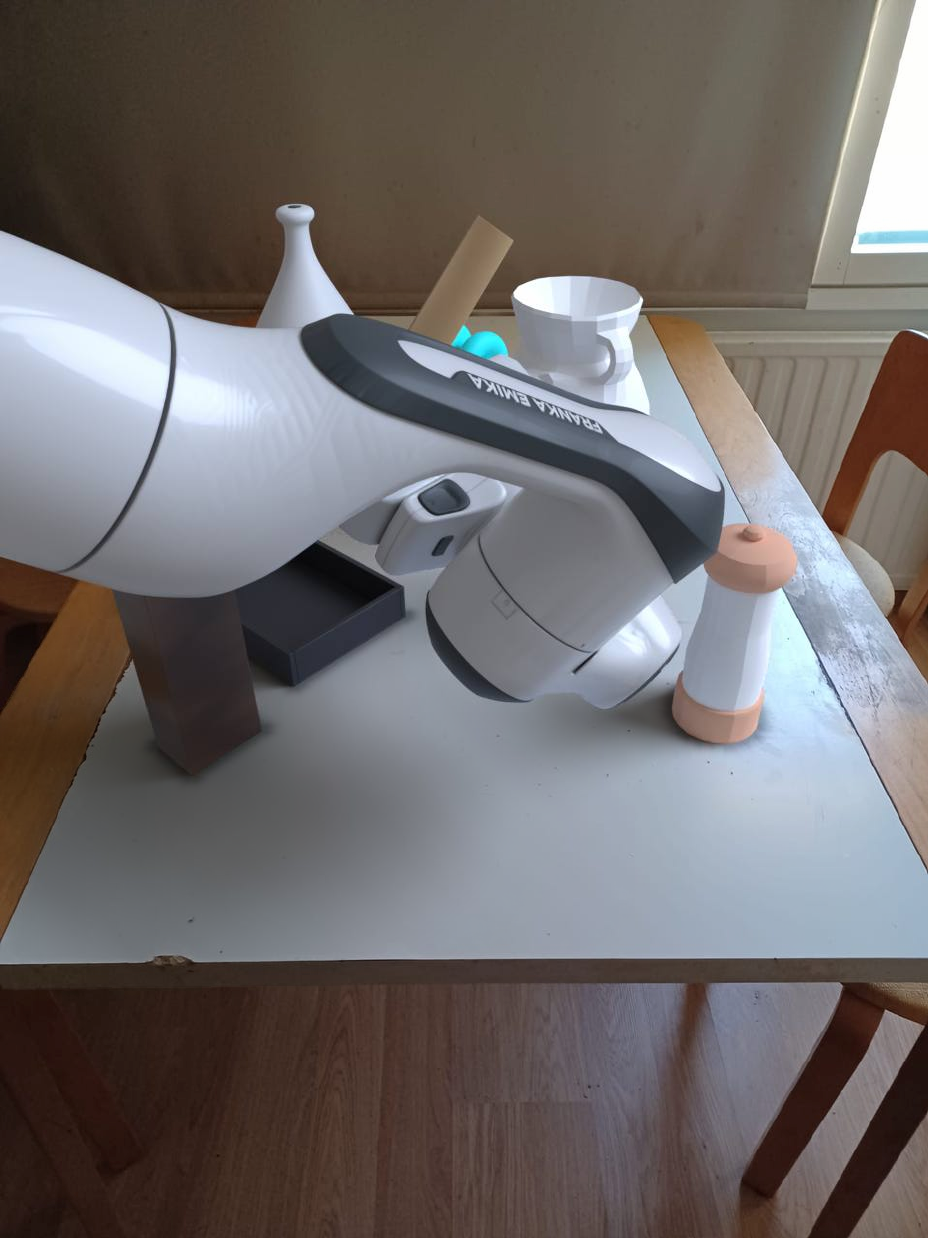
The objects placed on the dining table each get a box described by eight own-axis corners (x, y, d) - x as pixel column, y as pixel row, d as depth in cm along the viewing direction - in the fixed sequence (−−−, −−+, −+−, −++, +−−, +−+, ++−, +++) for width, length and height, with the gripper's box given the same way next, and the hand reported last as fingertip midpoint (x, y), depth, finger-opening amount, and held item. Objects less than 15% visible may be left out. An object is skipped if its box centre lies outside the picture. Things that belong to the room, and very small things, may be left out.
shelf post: (193, 779, 73) (116, 495, 57) (158, 749, 76) (76, 470, 60) (262, 733, 77) (209, 457, 62) (227, 707, 80) (167, 436, 64)
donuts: (463, 374, 140) (462, 310, 134) (511, 392, 134) (513, 326, 128) (416, 394, 134) (413, 327, 128) (464, 413, 129) (464, 344, 123)
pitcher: (672, 520, 105) (706, 302, 90) (541, 566, 97) (554, 337, 82) (576, 457, 118) (591, 257, 103) (453, 493, 110) (450, 283, 95)
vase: (237, 400, 133) (206, 218, 118) (281, 357, 146) (259, 189, 131) (350, 410, 130) (333, 225, 115) (384, 365, 143) (374, 194, 128)
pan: (294, 689, 82) (288, 655, 79) (168, 602, 93) (160, 569, 90) (406, 619, 90) (404, 586, 88) (278, 546, 101) (273, 515, 99)
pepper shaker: (687, 679, 83) (722, 493, 71) (767, 706, 80) (817, 517, 68) (658, 727, 78) (691, 536, 66) (742, 758, 75) (792, 564, 63)
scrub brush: (515, 260, 65) (533, 240, 61) (408, 438, 65) (418, 433, 61) (457, 218, 64) (471, 195, 59) (348, 400, 64) (354, 391, 59)
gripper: (601, 420, 66) (478, 289, 68) (399, 531, 54) (257, 367, 56) (562, 474, 71) (448, 350, 73) (369, 586, 59) (240, 433, 61)
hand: (364, 358), depth 64 cm, fingers closed on scrub brush, 5 cm apart
